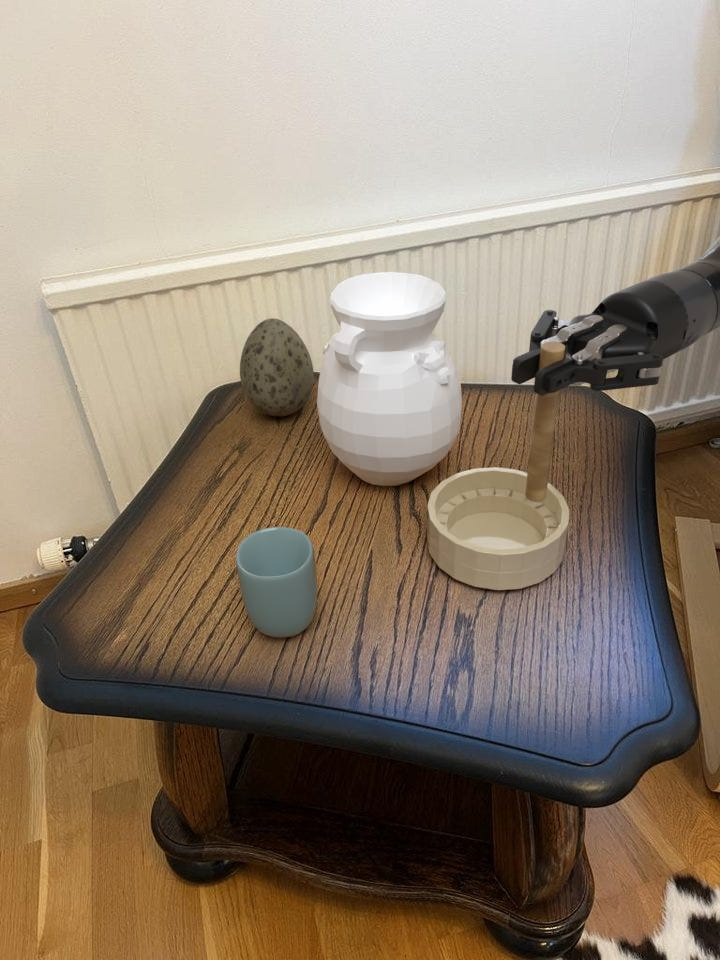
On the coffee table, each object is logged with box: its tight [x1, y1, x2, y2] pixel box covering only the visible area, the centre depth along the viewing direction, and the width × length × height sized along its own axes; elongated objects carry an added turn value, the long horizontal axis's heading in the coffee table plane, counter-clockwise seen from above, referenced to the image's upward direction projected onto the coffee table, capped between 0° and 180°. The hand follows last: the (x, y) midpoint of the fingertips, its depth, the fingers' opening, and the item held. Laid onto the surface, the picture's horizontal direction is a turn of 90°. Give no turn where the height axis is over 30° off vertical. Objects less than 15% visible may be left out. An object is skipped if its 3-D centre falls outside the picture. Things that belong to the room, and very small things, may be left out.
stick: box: [525, 341, 565, 502], centre depth 69 cm, size 2×2×16 cm
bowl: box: [426, 466, 571, 591], centre depth 87 cm, size 16×16×6 cm
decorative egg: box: [239, 317, 315, 418], centre depth 111 cm, size 11×11×15 cm
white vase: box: [316, 271, 463, 487], centre depth 95 cm, size 19×18×25 cm
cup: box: [235, 526, 318, 639], centre depth 78 cm, size 8×8×10 cm
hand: (526, 378), depth 64 cm, fingers closed on stick, 2 cm apart
